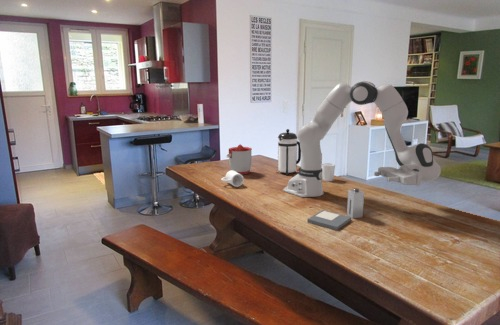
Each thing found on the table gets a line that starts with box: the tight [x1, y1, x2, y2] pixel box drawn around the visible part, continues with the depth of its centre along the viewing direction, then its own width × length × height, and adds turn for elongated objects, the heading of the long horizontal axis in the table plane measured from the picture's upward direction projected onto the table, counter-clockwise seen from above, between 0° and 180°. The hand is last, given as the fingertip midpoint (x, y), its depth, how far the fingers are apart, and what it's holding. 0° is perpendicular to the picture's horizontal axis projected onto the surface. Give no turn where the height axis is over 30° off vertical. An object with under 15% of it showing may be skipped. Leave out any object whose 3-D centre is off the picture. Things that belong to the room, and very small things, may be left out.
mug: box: [221, 169, 245, 188], centre depth 207 cm, size 12×10×8 cm
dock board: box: [307, 209, 352, 231], centre depth 152 cm, size 14×14×2 cm
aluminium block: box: [346, 188, 365, 219], centre depth 157 cm, size 5×5×13 cm
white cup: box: [322, 162, 336, 182], centre depth 216 cm, size 8×8×10 cm
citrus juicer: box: [226, 143, 253, 176], centre depth 233 cm, size 16×17×20 cm
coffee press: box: [276, 128, 301, 177], centre depth 233 cm, size 17×16×30 cm
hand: (381, 176), depth 157 cm, fingers open, 8 cm apart
